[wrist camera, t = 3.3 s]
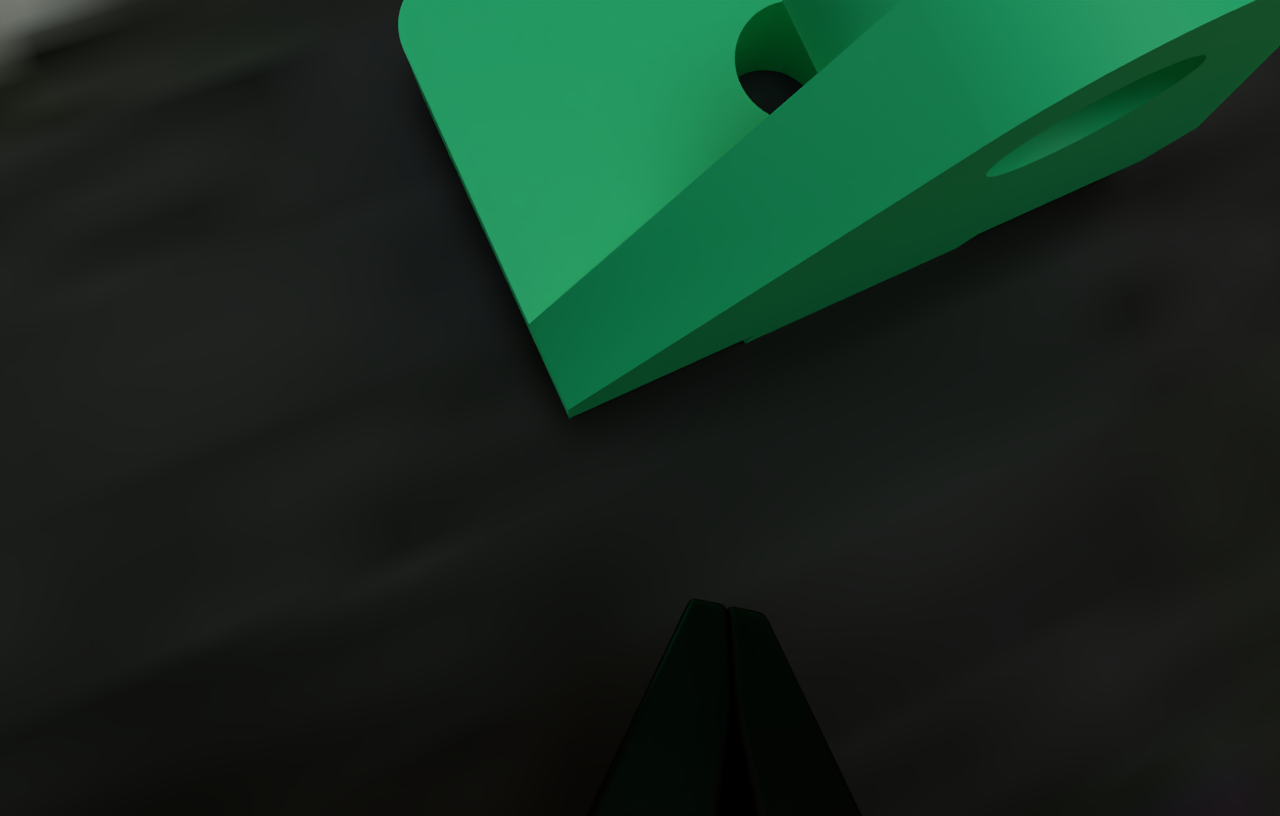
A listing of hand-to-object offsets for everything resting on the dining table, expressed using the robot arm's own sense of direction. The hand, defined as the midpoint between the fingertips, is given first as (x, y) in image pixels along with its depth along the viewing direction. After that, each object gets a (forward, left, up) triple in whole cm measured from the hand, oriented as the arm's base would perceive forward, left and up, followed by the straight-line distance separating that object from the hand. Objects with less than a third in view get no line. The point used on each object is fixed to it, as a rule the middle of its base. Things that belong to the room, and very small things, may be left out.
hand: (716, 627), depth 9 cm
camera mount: (+4, +8, -7) cm, 11 cm away
